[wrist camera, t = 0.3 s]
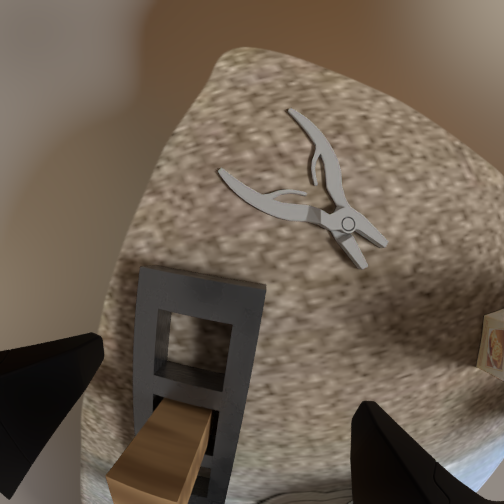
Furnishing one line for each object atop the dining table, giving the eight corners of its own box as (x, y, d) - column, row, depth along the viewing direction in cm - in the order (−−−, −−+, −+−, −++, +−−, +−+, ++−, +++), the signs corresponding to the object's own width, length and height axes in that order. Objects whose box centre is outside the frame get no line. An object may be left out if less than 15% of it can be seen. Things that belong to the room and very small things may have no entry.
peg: (212, 430, 23) (177, 531, 9) (170, 419, 24) (115, 509, 10) (216, 396, 23) (177, 502, 9) (172, 386, 24) (105, 475, 10)
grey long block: (225, 494, 23) (222, 512, 20) (150, 475, 24) (141, 491, 20) (266, 284, 23) (266, 289, 20) (156, 264, 24) (140, 266, 20)
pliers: (293, 101, 22) (409, 218, 21) (292, 110, 24) (402, 220, 23) (213, 170, 22) (338, 298, 22) (217, 175, 24) (333, 295, 23)
